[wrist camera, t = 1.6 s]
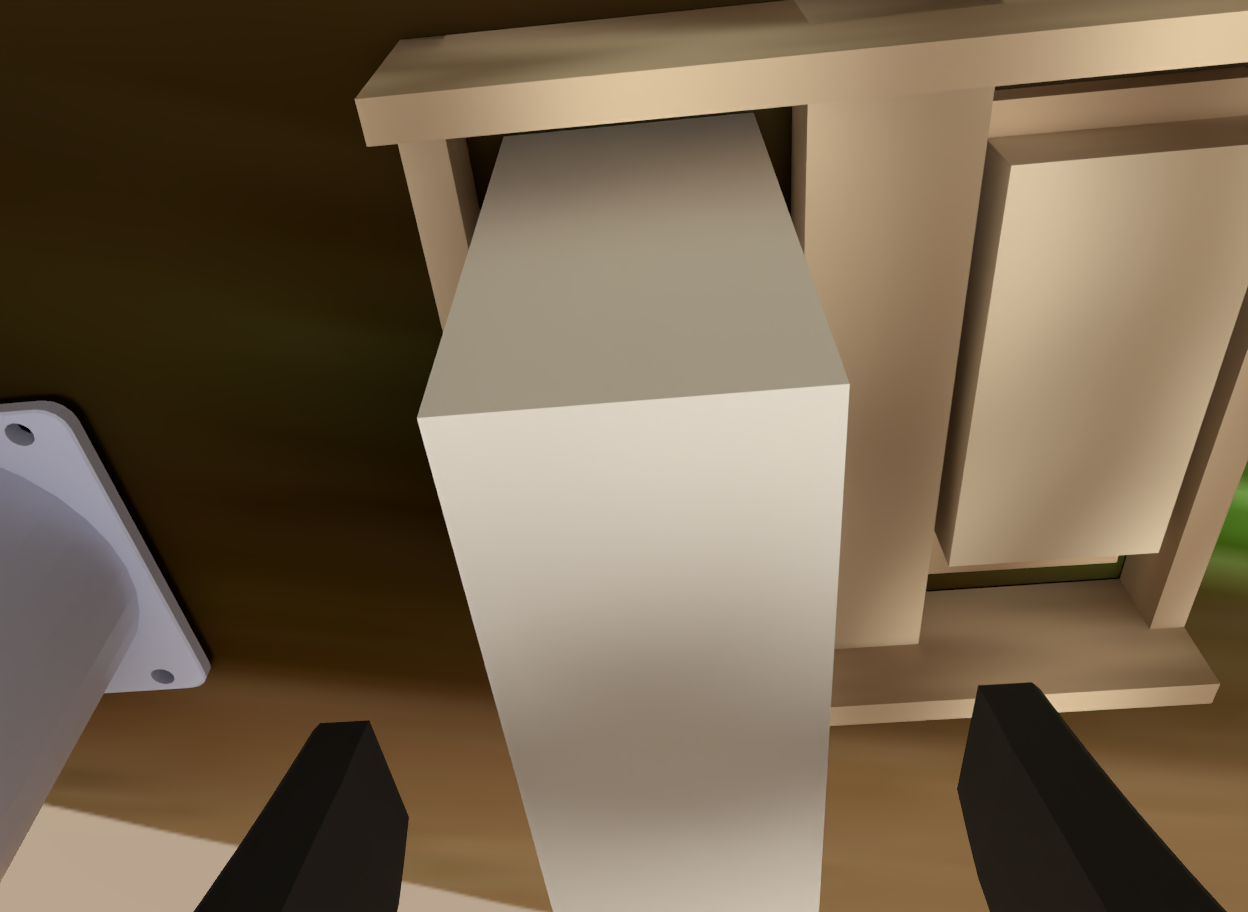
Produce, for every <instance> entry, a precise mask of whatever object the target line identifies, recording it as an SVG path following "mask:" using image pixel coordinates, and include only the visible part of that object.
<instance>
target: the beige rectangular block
mask: <svg viewBox="0 0 1248 912" xmlns="http://www.w3.org/2000/svg"><path fill="white" fill-rule="evenodd" d="M849 388H850V383H849V380H848V378H847V375H846V372H845V369H844V366H843V363H842V361H841V358H840V355H839V352H838V349H837V347H836V344H835V341H834V338H833V335H832V332H831V330H830V327H829V324H828V321H827V318H826V316H825V313H824V310H823V307H822V304H821V301H820V299H819V296H818V293H817V290H816V287H815V285H814V282H813V279H812V276H811V273H810V270H809V268H808V265H807V262H806V259H805V256H804V254H803V251H802V248H801V245H800V242H799V239H798V237H797V234H796V231H795V228H794V225H793V223H792V220H791V217H790V214H789V211H788V208H787V206H786V203H785V200H784V197H783V194H782V191H781V189H780V186H779V183H778V180H777V177H776V175H775V172H774V169H773V166H772V163H771V160H770V158H769V155H768V152H767V149H766V146H765V144H764V141H763V138H762V135H761V132H760V129H759V127H758V124H757V121H756V118H755V115H754V113H744V114H733V115H723V116H712V117H702V118H692V119H681V120H671V121H660V122H650V123H640V124H629V125H619V126H608V127H598V128H588V129H577V130H567V131H556V132H546V133H535V134H525V135H515V136H504V137H503V140H502V144H501V147H500V150H499V153H498V156H497V160H496V163H495V166H494V169H493V173H492V176H491V179H490V182H489V186H488V189H487V192H486V195H485V199H484V202H483V205H482V208H481V212H480V215H479V218H478V221H477V225H476V228H475V231H474V234H473V237H472V241H471V244H470V247H469V250H468V254H467V257H466V260H465V263H464V267H463V270H462V273H461V276H460V280H459V283H458V286H457V289H456V293H455V296H454V299H453V302H452V306H451V309H450V312H449V315H448V319H447V322H446V325H445V328H444V331H443V335H442V338H441V341H440V344H439V348H438V351H437V354H436V357H435V361H434V364H433V367H432V370H431V374H430V377H429V380H428V383H427V387H426V390H425V393H424V396H423V400H422V403H421V406H420V409H419V413H418V416H417V421H418V424H419V428H420V432H421V435H422V439H423V442H424V446H425V450H426V453H427V457H428V461H429V464H430V468H431V471H432V475H433V479H434V482H435V486H436V490H437V493H438V497H439V500H440V504H441V508H442V511H443V515H444V518H445V522H446V526H447V529H448V533H449V537H450V540H451V544H452V547H453V551H454V555H455V558H456V562H457V566H458V569H459V573H460V576H461V580H462V584H463V587H464V591H465V595H466V598H467V602H468V605H469V609H470V613H471V616H472V620H473V624H474V627H475V631H476V634H477V638H478V642H479V645H480V649H481V652H482V656H483V660H484V663H485V667H486V671H487V674H488V678H489V681H490V685H491V689H492V692H493V696H494V700H495V703H496V707H497V710H498V714H499V718H500V721H501V725H502V729H503V732H504V736H505V739H506V743H507V747H508V750H509V754H510V758H511V761H512V765H513V768H514V772H515V776H516V779H517V783H518V787H519V790H520V794H521V797H522V801H523V805H524V808H525V812H526V815H527V819H528V823H529V826H530V830H531V834H532V837H533V841H534V844H535V848H536V852H537V855H538V859H539V863H540V866H541V870H542V873H543V877H544V881H545V884H546V888H547V892H548V895H549V899H550V902H551V906H552V910H553V912H819V900H820V883H821V866H822V849H823V832H824V815H825V798H826V781H827V764H828V747H829V730H830V712H831V695H832V678H833V661H834V644H835V627H836V610H837V593H838V576H839V559H840V542H841V525H842V508H843V490H844V473H845V456H846V439H847V422H848V405H849Z"/></svg>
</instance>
